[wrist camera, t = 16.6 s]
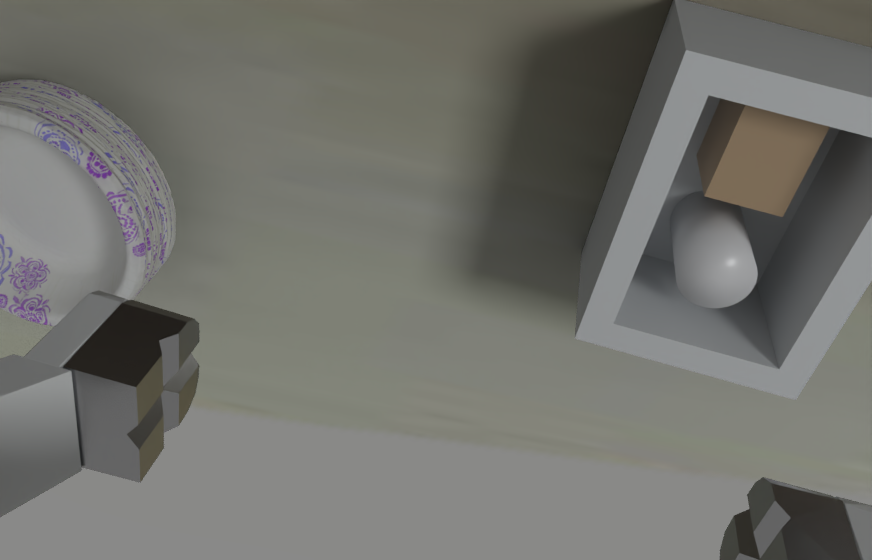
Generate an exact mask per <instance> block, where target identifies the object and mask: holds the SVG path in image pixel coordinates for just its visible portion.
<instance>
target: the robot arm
mask: <svg viewBox="0 0 872 560" xmlns="http://www.w3.org/2000/svg"><path fill="white" fill-rule="evenodd" d="M198 343H199V323H198V322H197V321H196V320H195V319H193V318H190V317H187V316H183V315H180V314H177V313H174V312H170V311H167V310H164V309H160V308H157V307H154V306H150V305H147V304H144V303H141V302H137V301H134V300H128V299H125V298H122V297H118V296H115V295H112V294H109V293H105V292H102V291H99V290H98V291H95V292H92V293H89V294H87V295H86V296H85V297H84V298H83V299H82V300H81V301H80V302H79V303H78V304H77V305H76V306H75V307H74V308H73V309H72V310H71V311H70V312H69V313H68V314H67V315H66V316H65V317H64V318H63V319H62V320H61V321H60V322H59V323H58V324H57V325H56V326H55V327H54V328H53V329H52V330H51V331H50V332H49V333H48V334H47V335H45V336H44V337H43V338H42V339H41V340H40V341H39V342H38V343H37V344H36V345H35V346H34V347H33V348H32V349H31V350H30V351H29V352H28V353H27V354H26V355H25V356H24V357H22V356H18V355H14V354H13V355H10V356H7V357H4V358H1V359H0V517H2V516H3V515H5V514H7V513H8V512H10V511H12V510H14V509H16V508H17V507H19V506H21V505H23V504H24V503H26V502H28V501H29V500H31V499H33V498H35V497H37V496H38V495H40V494H42V493H44V492H45V491H47V490H49V489H50V488H52V487H54V486H56V485H57V484H59V483H61V482H63V481H64V480H66V479H68V478H70V477H71V476H73V475H75V474H77V473H78V472H80V471H81V470H82V469H81V467H83V468H87V469H91V470H94V471H98V472H102V473H106V474H110V475H114V476H117V477H121V478H125V479H129V480H132V481H136V482H141V481H142V479H143V478H144V476H145V475H146V474H147V472H148V471H149V469H150V468H151V466H152V465H153V463H154V462H155V460H156V459H157V457H158V456H159V454H160V453H161V451H162V450H163V448H164V432H166V431H169V430H171V429H172V428H175V427H177V426H179V425H180V423H181V421H182V420H183V418H184V417H185V415H186V413H187V412H188V410H189V408H190V405H191V403H192V400H193V398H194V395H195V393H196V388H197V383H198V378H199V364H198V363H197V361H196V360H195V358H194V357H193V355H192V354H191V352H192V351H193V350H194V348H195V347H196V345H197V344H198ZM747 496H748V502H749V508H750V509H749V510H746V511H744V512H742V513H739V514H737V515H735V516H734V517H733V519H732V520H731V522H730V524H729V525H728V527H727V529H726V531H725V534H724V537H723V541H722V545H721V549H720V560H872V506H871V505H867V504H863V503H859V502H856V501H852V500H848V499H844V498H840V497H833V496H831V495H827V494H823V493H820V492H816V491H812V490H809V489H805V488H801V487H798V486H794V485H790V484H787V483H783V482H779V481H775V480H772V479H768V478H764V477H763V478H761V479H760V480H758V481H757V482H756V483H755V484H754V485H753V487H752V488H751V490H750V491H749V493H748V494H747Z"/></svg>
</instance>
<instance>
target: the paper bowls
mask: <svg viewBox="0 0 872 560" xmlns="http://www.w3.org/2000/svg"><path fill="white" fill-rule="evenodd" d="M175 237H176V212H175V207H174V203H173V198H172V197H171V190H170V188H169V185H168V183H167V180H166V178H165V177H164V174H163V172H162V170H161V168H160V166H159V164H158V162H157V161H156V159H155V158H154V156H153V154H152V153H151V152H150V151H149V149H148V148H147V147H146V145H145V144H144V143H143V142H142V140H140V138H139V137H138V135H136V134H135V133H134V132H133V131H132V129H131V128H130V127H129V126H128V125H126V124H125V123H124V122H123V121H122V119H120V118H117V117H116V116H115V115H114V114H113V113H112V112H111V111H109V110H108V109H107V108H105V107H104V106H102V105H101V104H100V103H98V102H97V101H96V100H94V99H91V98H89V97H88V96H86V95H84V94H81V93H80V92H78V91H76V90H74V89H71V88H68V87H66V86H64V85H60V84H57V83H53V82H48V81H44V80H29V79H17V80H11V81H5V82H1V83H0V309H2V310H4V311H6V312H8V313H11V314H13V315H15V316H17V317H20V318H23V319H25V320H28V321H33V322H35V323H40V324H45V325H50V326H56V325H57V324H58V323H59V322H60V321H61V320H62V319H63V318H64V317H65V316H66V315H67V314H68V313H69V312H70V311H71V310H72V309H73V308H74V307H75V306H76V305H77V304H78V303H79V302H80V301H81V300H82V299H83V298H84V297H85V296H86V295H87V294H89V293H92V292H95V291H98V290H99V291H102V292H105V293H109V294H112V295H115V296H118V297H122V298H125V299H128V300H133V299H134V298H135V297H136V296H137V294H138V293H139V292H140V291H141V290H142V289H143V287H144V286H145V285H146V284H147V283H148V282H149V281H150V279H152V278H153V277H154V275H155V274H156V273H157V272H158V271H159V269H160V268H161V267H162V265H163V264H164V263H165V262H166V260H167V259H168V258H169V256H170V253H171V251H172V248H173V245H174V242H175Z"/></svg>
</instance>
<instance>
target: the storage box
mask: <svg viewBox="0 0 872 560" xmlns="http://www.w3.org/2000/svg"><path fill="white" fill-rule="evenodd" d="M871 281H872V48H871V47H868V46H864V45H860V44H856V43H852V42H848V41H844V40H840V39H836V38H832V37H828V36H824V35H820V34H816V33H812V32H808V31H805V30H801V29H797V28H793V27H789V26H785V25H781V24H777V23H773V22H769V21H765V20H761V19H757V18H753V17H749V16H745V15H742V14H738V13H734V12H730V11H726V10H722V9H718V8H714V7H710V6H706V5H702V4H698V3H694V2H690V1H686V0H673V2H672V4H671V7H670V10H669V13H668V16H667V18H666V21H665V24H664V27H663V29H662V32H661V35H660V38H659V40H658V43H657V46H656V49H655V51H654V54H653V57H652V60H651V62H650V65H649V68H648V71H647V73H646V76H645V79H644V82H643V84H642V87H641V90H640V93H639V96H638V98H637V101H636V104H635V107H634V109H633V112H632V115H631V118H630V120H629V123H628V126H627V129H626V131H625V134H624V137H623V140H622V142H621V145H620V148H619V151H618V153H617V156H616V159H615V162H614V164H613V167H612V170H611V173H610V176H609V178H608V181H607V184H606V187H605V189H604V192H603V195H602V198H601V200H600V203H599V206H598V209H597V211H596V214H595V217H594V220H593V222H592V225H591V228H590V231H589V233H588V236H587V239H586V242H585V244H584V247H583V250H582V253H581V266H580V278H579V291H578V304H577V316H576V329H575V339H578V340H582V341H585V342H589V343H592V344H596V345H599V346H603V347H607V348H610V349H614V350H617V351H621V352H625V353H628V354H632V355H635V356H639V357H643V358H646V359H650V360H653V361H657V362H661V363H664V364H668V365H671V366H675V367H679V368H682V369H686V370H689V371H693V372H697V373H700V374H704V375H707V376H711V377H715V378H718V379H722V380H725V381H729V382H733V383H736V384H740V385H743V386H747V387H751V388H754V389H758V390H761V391H765V392H769V393H772V394H776V395H779V396H783V397H787V398H790V399H794V400H796V399H797V397H798V396H799V394H800V392H801V391H802V389H803V388H804V386H805V385H806V383H807V381H808V380H809V378H810V377H811V375H812V374H813V372H814V370H815V369H816V367H817V366H818V364H819V363H820V361H821V359H822V358H823V356H824V355H825V353H826V352H827V350H828V348H829V347H830V345H831V344H832V342H833V341H834V339H835V337H836V336H837V334H838V333H839V331H840V329H841V328H842V326H843V325H844V323H845V322H846V320H847V318H848V317H849V315H850V314H851V312H852V311H853V309H854V307H855V306H856V304H857V303H858V301H859V300H860V298H861V296H862V295H863V293H864V292H865V290H866V289H867V287H868V285H869V284H870V282H871Z"/></svg>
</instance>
